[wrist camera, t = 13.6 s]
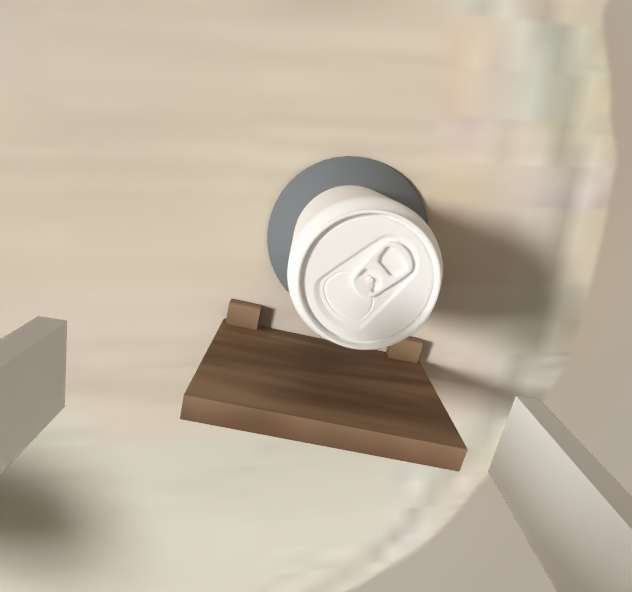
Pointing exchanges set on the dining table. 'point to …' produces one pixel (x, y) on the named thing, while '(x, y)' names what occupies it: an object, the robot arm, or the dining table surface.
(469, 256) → the dining table surface
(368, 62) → the dining table surface
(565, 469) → the robot arm
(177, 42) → the dining table surface
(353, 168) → the pad
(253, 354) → the screen
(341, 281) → the beverage can
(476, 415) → the dining table surface
